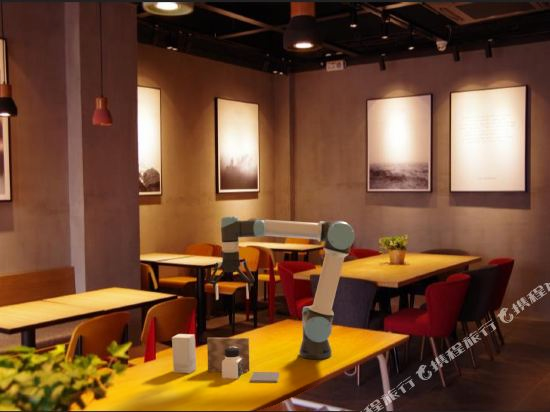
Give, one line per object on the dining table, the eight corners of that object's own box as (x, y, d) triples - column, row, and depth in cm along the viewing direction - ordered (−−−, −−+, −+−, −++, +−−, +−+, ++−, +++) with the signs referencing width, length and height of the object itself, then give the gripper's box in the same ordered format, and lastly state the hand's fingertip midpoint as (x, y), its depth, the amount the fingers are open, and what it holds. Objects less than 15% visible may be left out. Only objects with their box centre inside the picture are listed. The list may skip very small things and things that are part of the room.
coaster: (279, 374, 252) (279, 372, 252) (277, 382, 241) (277, 380, 241) (253, 373, 253) (253, 371, 253) (250, 382, 242) (250, 380, 242)
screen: (250, 368, 261) (249, 336, 260) (248, 372, 255) (247, 340, 254) (209, 367, 262) (209, 336, 262) (206, 372, 256) (206, 339, 256)
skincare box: (196, 369, 260) (196, 334, 260) (189, 374, 254) (188, 337, 253) (179, 368, 263) (178, 333, 262) (172, 372, 256) (171, 336, 256)
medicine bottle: (238, 379, 246) (237, 350, 246) (221, 378, 247) (221, 349, 247) (242, 373, 253) (242, 345, 253) (226, 373, 254) (226, 345, 254)
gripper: (258, 249, 268) (260, 296, 269) (203, 251, 269) (205, 298, 269) (258, 251, 261) (260, 299, 261) (201, 253, 261) (203, 301, 262)
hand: (232, 298), depth 265 cm, fingers open, 13 cm apart
